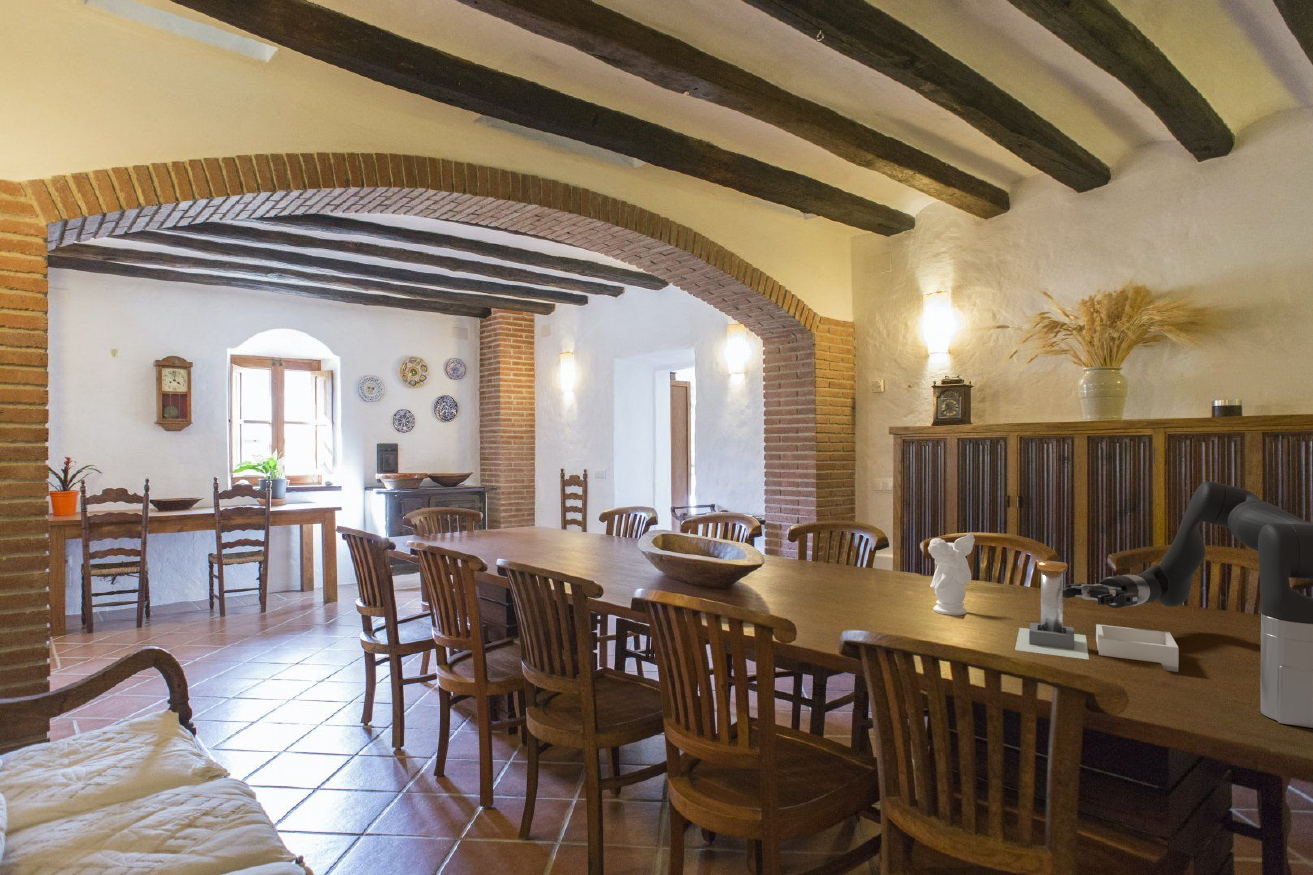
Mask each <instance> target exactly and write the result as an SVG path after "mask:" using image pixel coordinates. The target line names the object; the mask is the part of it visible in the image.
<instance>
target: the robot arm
mask: <svg viewBox="0 0 1313 875" xmlns="http://www.w3.org/2000/svg"><path fill="white" fill-rule="evenodd" d="M1201 522H1204V523H1208V524H1212V525H1215V526H1218V527H1219V526H1220V527H1224V528H1228V529H1229V531H1230V534H1232V535H1233V537H1234V538H1236V539H1237V541H1239V543H1242V544H1243V545H1244V546H1246V547H1247V548H1250V549H1252V550H1255V551H1256V552H1257V554H1258V555H1257V556H1258V557H1257V558H1258V568H1259V569H1258V570H1259V596H1260V687H1259V688H1260V714H1262V715H1264V716H1265V717H1268V718H1270V719H1272V720H1275V721H1277V722H1278V723H1279V724H1283V725H1290V726H1291V725H1292V726H1297V727H1304V728H1310V729H1311V728H1312V729H1313V597H1310V596H1307V595H1305V594H1302V593H1300V592H1299V591H1297V590H1295V589H1294V588H1293V587H1292V586H1291V583H1290V579H1304V580H1305V579H1306V580H1307V579H1308V580H1313V522H1311V521H1308V520H1305V519H1303V518H1301V517H1298V516H1296V515H1295V514H1292V513H1291V512H1288V511H1286V510H1284V509H1283V508H1281V507H1279V506H1277V505H1274V504H1273V503H1271V502H1267V501H1264V500H1261V498H1260V497H1258V496H1257V495H1256V494H1255V493H1254V492H1252V491H1250V490H1247V489H1245V488H1242V487H1237V486H1233V485H1229V484H1224V483H1219V482H1215V481H1204V482H1202V483H1201V484H1200V485H1199V486H1198V487H1197V488H1196V490H1195V491H1194V493H1193V494H1192V497H1191V499H1190V501H1189V503H1188V506H1187V508H1186V510H1185V513H1184V515H1183V518H1182V520H1181V522H1180V524H1179V527H1178V531H1177V533H1176V536H1175V538H1174V539H1173V541H1172V544H1170V546H1169V548H1168V550H1167V551H1166V553H1165V554H1164V556H1163V557H1162V559H1161V560H1160V564H1153V565H1151V566H1149V567H1148V568H1147V569H1145V571H1142V572H1141V573H1139V574H1138V573H1137V574H1122V575H1113V576H1111V575H1110V576H1106V577H1104V578H1102V579H1101V580H1100V581H1099V583H1094V584H1086V583H1085V582H1079V583H1071V584H1070V583H1067V584H1066V586H1065V588H1064V587H1063V599H1069V598H1082V599H1083V600H1089V601H1090V600H1092V601H1096V602H1097V605H1099V606H1107V607H1108V608H1112V609H1123V608H1129V607H1135V606H1139V605H1141V604H1147V603H1148V604H1149V603H1153V602H1156V601H1159V602H1160V604H1162V605H1163V606H1165V607H1170V608H1174V607H1179V606H1180V605H1181V604H1183V603H1184V602H1185V601H1187V598H1189V595H1190V593H1191V588H1192V582H1193V578H1194V574H1195V573H1196V572H1197V570H1198V569H1199V567H1200V566H1201V564H1202V563H1203V561H1204V560H1205V557H1206V546H1205V542H1204V540H1203V537H1202V535H1201V532H1200V531H1201V530H1200V524H1201ZM1087 593H1088V594H1087ZM1088 595H1089V596H1088Z"/></svg>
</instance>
